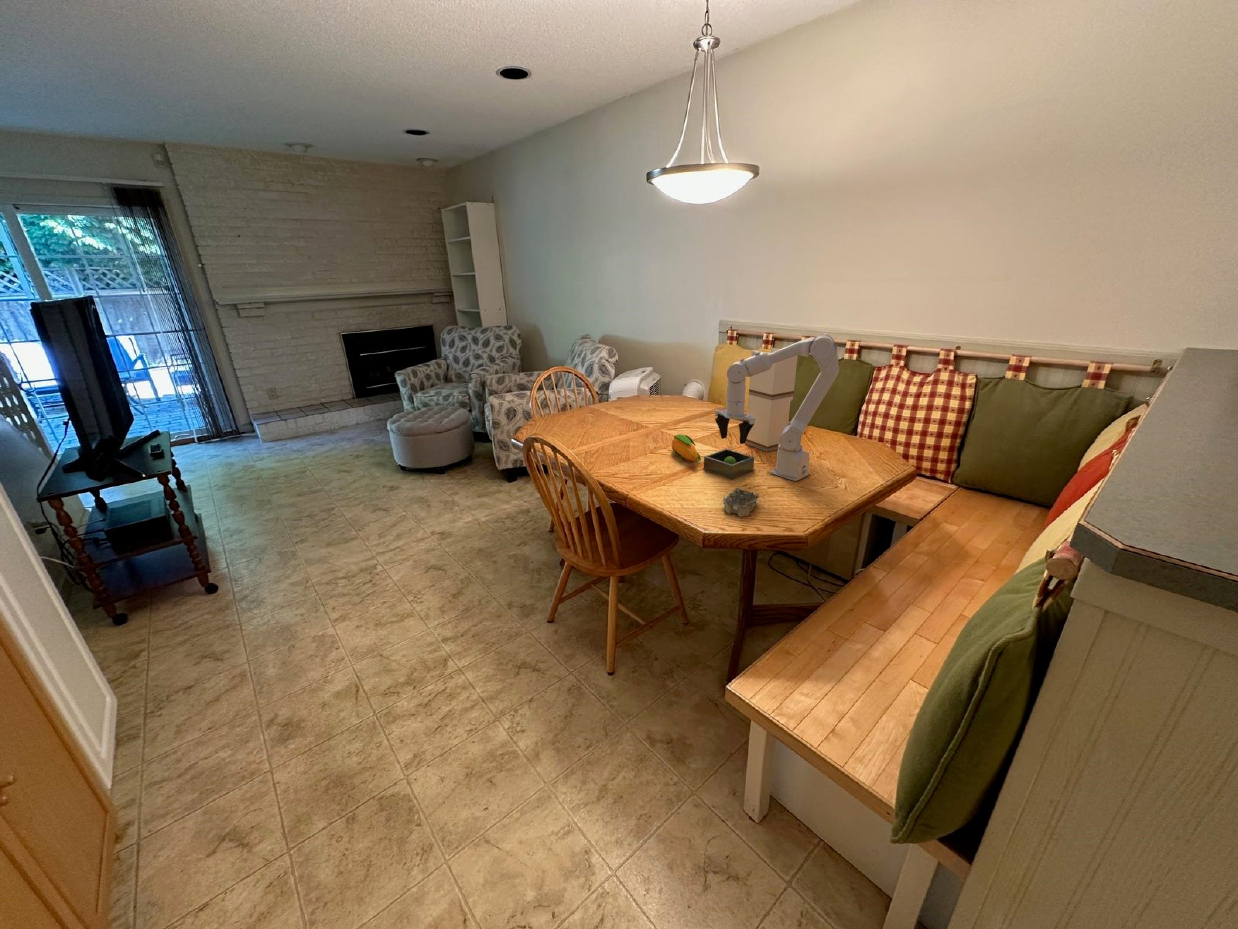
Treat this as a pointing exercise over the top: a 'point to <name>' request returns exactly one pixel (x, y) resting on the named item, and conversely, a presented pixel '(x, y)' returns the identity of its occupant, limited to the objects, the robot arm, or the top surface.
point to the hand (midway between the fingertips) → (733, 440)
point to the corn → (685, 448)
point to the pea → (730, 460)
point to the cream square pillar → (770, 402)
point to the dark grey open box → (727, 470)
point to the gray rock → (740, 502)
